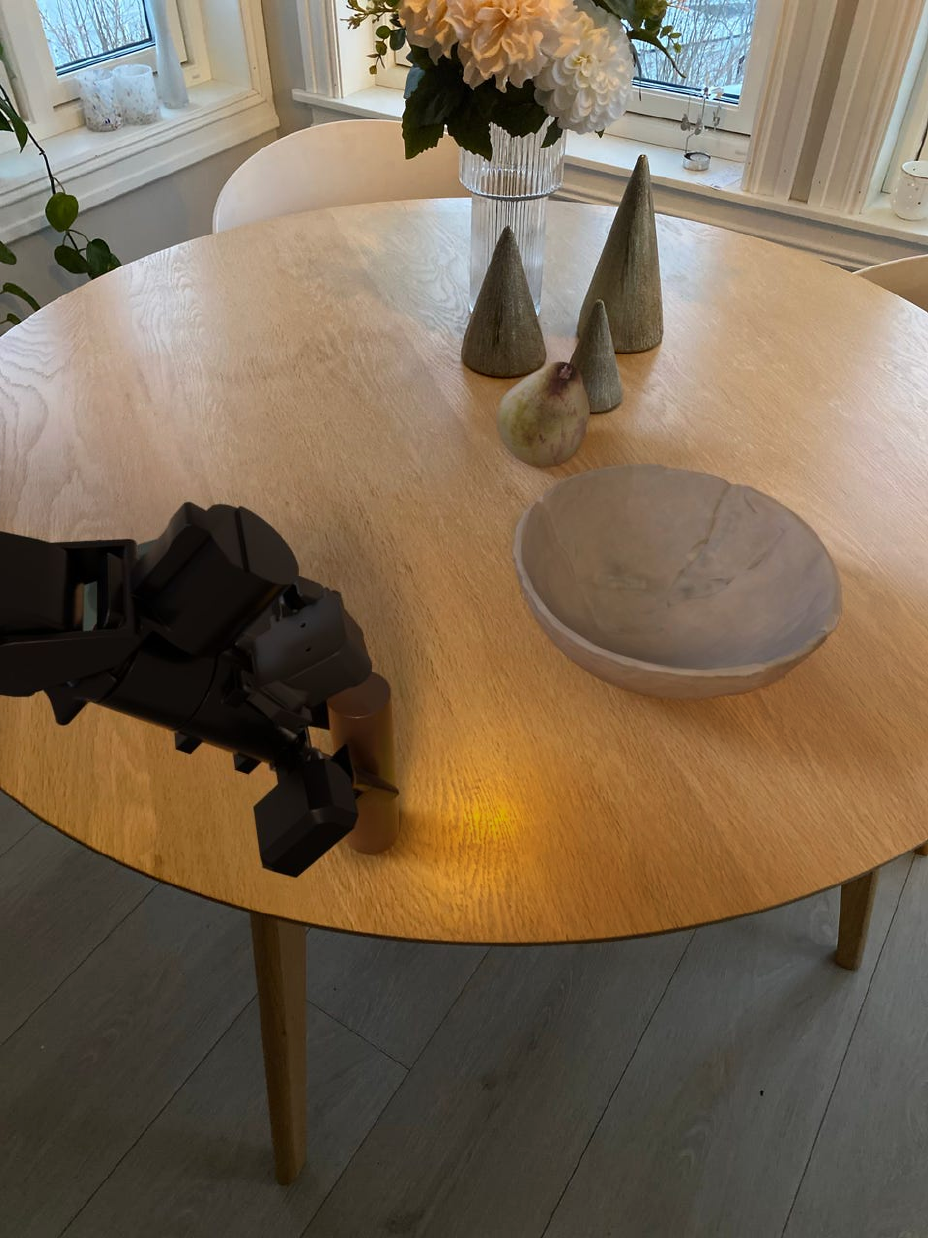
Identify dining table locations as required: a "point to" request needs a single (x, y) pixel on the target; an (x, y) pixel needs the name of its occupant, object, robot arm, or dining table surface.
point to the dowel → (368, 755)
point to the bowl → (675, 581)
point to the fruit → (545, 415)
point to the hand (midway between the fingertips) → (385, 762)
